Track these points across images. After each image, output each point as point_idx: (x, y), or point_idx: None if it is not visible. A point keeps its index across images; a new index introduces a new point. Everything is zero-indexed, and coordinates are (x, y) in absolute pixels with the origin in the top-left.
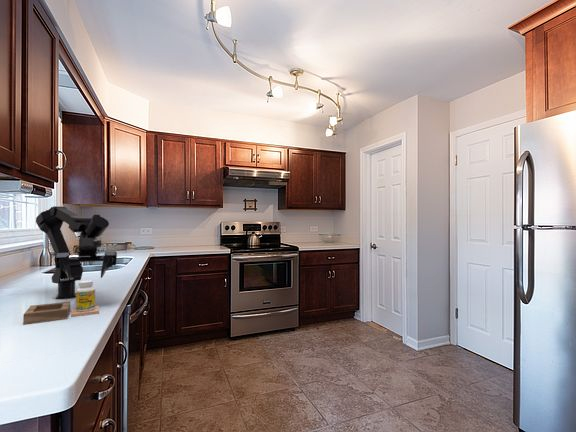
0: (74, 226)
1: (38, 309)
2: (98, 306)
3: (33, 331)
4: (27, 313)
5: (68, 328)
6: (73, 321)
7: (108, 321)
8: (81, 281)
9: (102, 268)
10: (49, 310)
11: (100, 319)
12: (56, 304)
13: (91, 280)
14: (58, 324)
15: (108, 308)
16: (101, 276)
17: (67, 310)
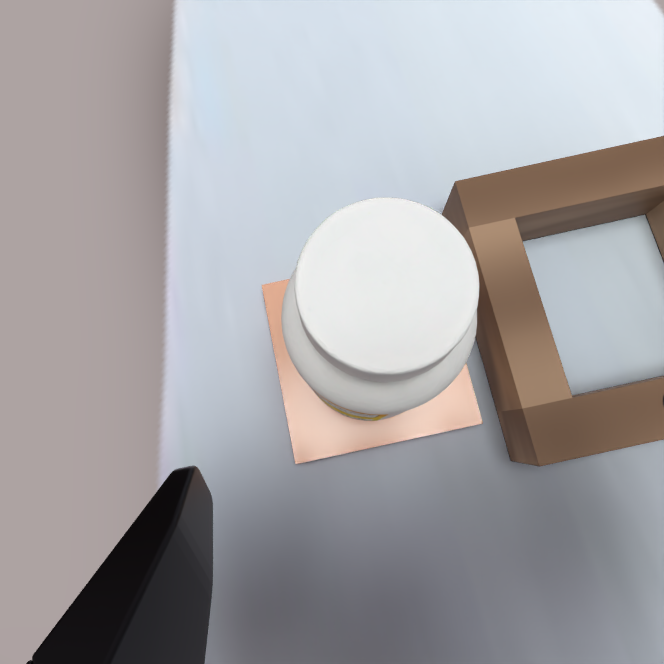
0: None
1: None
2: (292, 431)
3: (535, 29)
4: None
5: (365, 31)
6: (381, 151)
7: (175, 95)
8: (452, 295)
9: (108, 627)
10: (580, 185)
11: (228, 147)
12: (621, 387)
13: (323, 341)
14: (450, 115)
15: (220, 420)
16: (185, 468)
17: (456, 203)
